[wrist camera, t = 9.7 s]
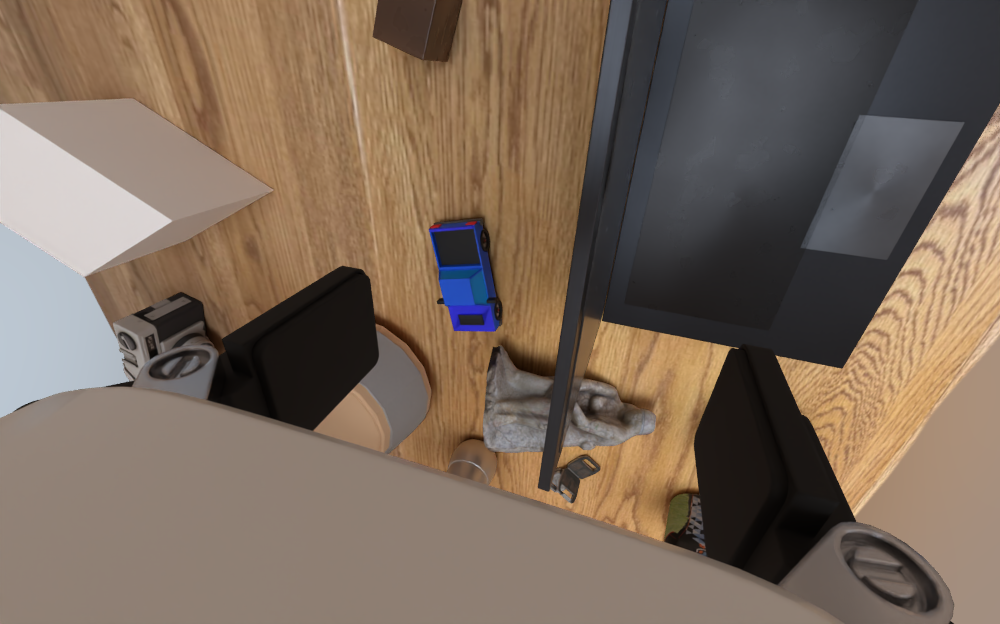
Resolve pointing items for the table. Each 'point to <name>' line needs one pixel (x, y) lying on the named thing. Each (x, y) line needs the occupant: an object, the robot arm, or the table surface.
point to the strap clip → (572, 476)
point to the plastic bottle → (473, 462)
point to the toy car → (466, 274)
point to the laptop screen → (602, 202)
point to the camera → (160, 331)
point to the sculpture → (525, 409)
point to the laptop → (796, 164)
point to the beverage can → (686, 523)
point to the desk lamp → (383, 400)
